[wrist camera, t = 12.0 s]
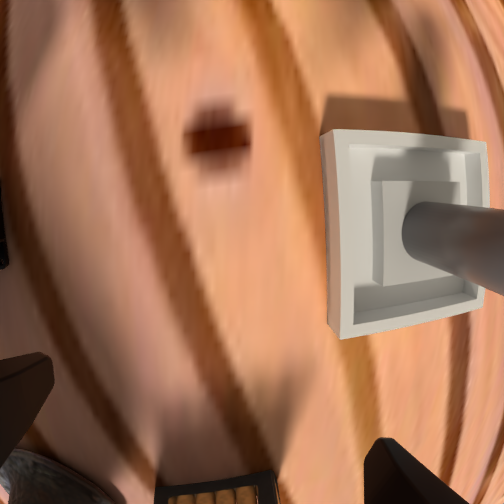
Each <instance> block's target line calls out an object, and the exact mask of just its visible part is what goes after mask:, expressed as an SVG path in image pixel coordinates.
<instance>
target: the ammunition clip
mask: <svg viewBox="0 0 504 504" xmlns="http://www.w3.org/2000/svg"><path fill="white" fill-rule="evenodd" d="M256 496H257V497H256ZM257 499H258V504H280V497H279V490H278V483H277V479H276V477H275V474H274V471H271V470H268V471H264V472H260V473H255V474H250V475H245V476H240V477H235V478H229V479H223V480H217V481H210V482H203V483H195V484H186V485H177V486H165V487H156V488H155V494H154V504H257Z"/></svg>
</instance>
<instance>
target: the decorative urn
mask: <svg viewBox="0 0 504 504" xmlns="http://www.w3.org/2000/svg"><path fill="white" fill-rule="evenodd" d="M0 484H1V485H2V487H3V488H4V489H5V490H6V492H7V493H8V494H9V501H8V504H115V503H114V502H113V500H111V499H110V498H109V497H108V496H107V495H106V494H105V493H104V492H103V491H102V490H100V489H99V488H98V487H97V486H96V485H94V484H93V483H91V482H90V481H88V480H87V479H85V478H84V477H82V476H81V475H79V474H77V473H76V472H74V471H73V470H71V469H69V468H67V467H65V466H64V465H62V464H60V463H58V462H56V461H54V460H52V459H50V458H47V457H45V456H42V455H40V454H37V453H34V452H30V451H27V450H22V449H14V450H13V451H12V453H11V454H10V456H9V457H8V459H7V460H6V461H5V463H4V464H3V466H2V467H1V469H0Z"/></svg>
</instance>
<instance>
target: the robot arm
mask: <svg viewBox="0 0 504 504" xmlns="http://www.w3.org/2000/svg"><path fill="white" fill-rule="evenodd" d="M2 260H3V263H2ZM8 265H9V258H8V252H7V245H6V239H5V231H4V223H3V213H2V202H1V188H0V270H1V269H4V268H7V267H8ZM54 381H55V379H54V371H53V362H52V359H51V357H49V356H48V355H45V354H43V353H41V352H36V353H31V354H26V355H22V356H17V357H12V358H8V359H3V360H0V469H1V467H2V466H3V464H4V463H5V461H6V460H7V459H8V457H9V456H10V454H11V453H12V451H13V450H14V449H15V447H16V446H17V444H18V443H19V441H20V440H21V439H22V437H23V436H24V434H25V433H26V432H27V430H28V429H29V427H30V426H31V425H32V423H33V421H34V420H35V418H36V416H37V414H38V413H39V411H40V409H41V407H42V406H43V404H44V402H45V400H46V399H47V397H48V395H49V394H50V392H51V390H52V388H53V386H54ZM364 504H469V503H468V502H467V501H465V500H464V499H463V498H462V497H461V496H459V495H458V494H457V493H456V492H455V491H453V490H452V489H451V488H450V487H449V486H447V485H446V484H445V483H444V482H443V481H441V480H440V479H439V478H438V477H437V476H436V475H434V474H433V473H432V472H431V471H430V470H429V469H427V468H426V467H425V466H424V465H423V464H422V463H420V462H419V461H418V460H417V459H416V458H415V457H413V456H412V455H411V454H410V453H409V452H408V451H407V450H405V449H404V448H403V447H402V446H401V445H400V444H399V443H398V442H396V441H395V440H394V439H393V438H384V437H380V438H378V439H377V440H376V441H375V442H374V444H373V446H372V447H371V449H370V451H369V452H368V454H367V455H366V457H365V460H364Z"/></svg>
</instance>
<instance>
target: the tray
mask: <svg viewBox="0 0 504 504" xmlns="http://www.w3.org/2000/svg"><path fill="white" fill-rule="evenodd" d="M319 139H320V150H321V162H322V176H323V191H324V209H325V230H326V259H327V324H328V325H329V326H330V328H331V329H332V330H333V331H334V333H335V334H336V335H337V337H338V338H339V339H340V340H341V339H347V338H353V337H358V336H364V335H369V334H374V333H379V332H384V331H389V330H394V329H399V328H403V327H408V326H412V325H417V324H421V323H425V322H430V321H434V320H438V319H442V318H446V317H450V316H454V315H457V314H461V313H465V312H469V311H472V310H476V309H479V308H483V301H484V294H485V288H484V287H482V286H479V285H477V284H475V283H472V282H470V281H467V280H465V279H462V278H460V277H458V276H455V275H452V276H446V277H440V278H434V279H429V280H422V281H416V282H410V283H404V284H397V285H391V286H384V287H383V286H381V285H380V284H378V283H376V282H375V281H373V280H372V267H373V239H372V202H371V182H370V181H448V182H460V205H468V206H477V207H486V208H490V192H489V170H488V156H487V146H486V142H483V141H476V140H469V139H462V138H454V137H446V136H438V135H428V134H418V133H406V132H392V131H375V130H348V129H333V130H331V131H329V132H327V133H325V134H323V135H321V136H320V137H319Z"/></svg>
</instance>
